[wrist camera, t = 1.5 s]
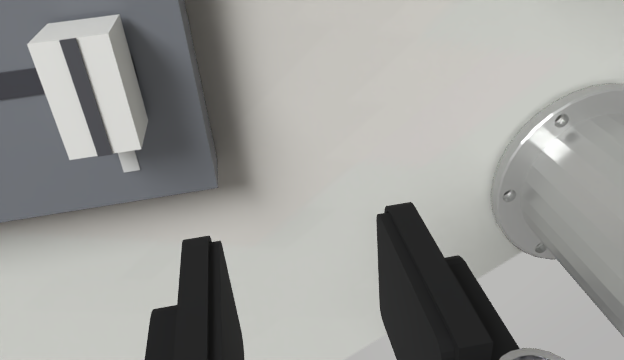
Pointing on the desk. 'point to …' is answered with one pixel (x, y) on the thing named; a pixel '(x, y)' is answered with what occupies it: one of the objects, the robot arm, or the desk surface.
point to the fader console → (120, 166)
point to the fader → (91, 86)
